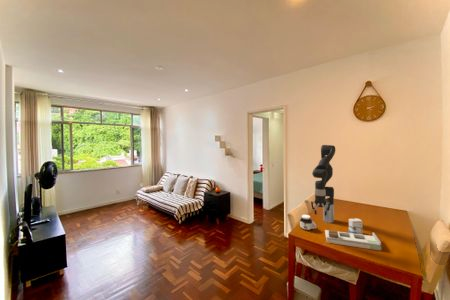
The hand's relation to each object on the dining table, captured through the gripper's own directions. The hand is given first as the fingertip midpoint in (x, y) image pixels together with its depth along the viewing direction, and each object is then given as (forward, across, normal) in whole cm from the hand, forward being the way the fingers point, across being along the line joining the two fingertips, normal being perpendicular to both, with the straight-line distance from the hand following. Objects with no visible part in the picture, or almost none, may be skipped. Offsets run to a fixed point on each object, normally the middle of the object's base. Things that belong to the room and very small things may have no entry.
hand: (320, 214), depth 154 cm
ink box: (+20, -27, -18) cm, 38 cm away
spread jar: (+20, +9, -16) cm, 27 cm away
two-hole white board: (+20, -21, -4) cm, 29 cm away
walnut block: (+17, -9, 0) cm, 19 cm away
